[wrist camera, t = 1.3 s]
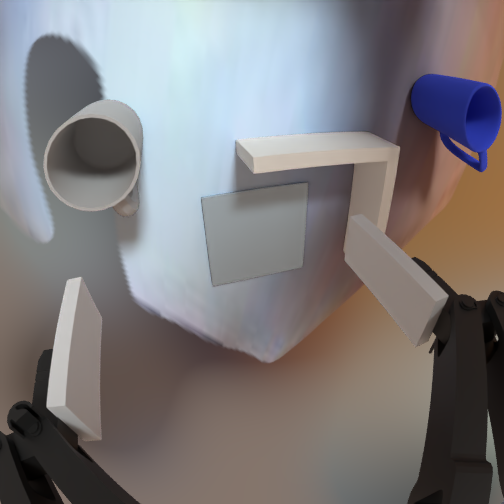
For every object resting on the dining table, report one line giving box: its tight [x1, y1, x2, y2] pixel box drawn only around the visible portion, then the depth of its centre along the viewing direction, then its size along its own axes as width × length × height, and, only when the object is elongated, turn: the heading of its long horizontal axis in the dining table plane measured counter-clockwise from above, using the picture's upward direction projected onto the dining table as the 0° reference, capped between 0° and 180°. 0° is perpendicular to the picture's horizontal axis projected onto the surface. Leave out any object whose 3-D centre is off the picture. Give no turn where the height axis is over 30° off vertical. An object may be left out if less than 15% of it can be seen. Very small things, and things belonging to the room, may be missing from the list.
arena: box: [236, 131, 400, 253], centre depth 35 cm, size 17×16×6 cm
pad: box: [201, 182, 308, 286], centre depth 38 cm, size 12×12×1 cm
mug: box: [411, 74, 502, 172], centre depth 30 cm, size 8×12×10 cm
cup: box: [44, 99, 143, 217], centre depth 24 cm, size 7×10×9 cm
